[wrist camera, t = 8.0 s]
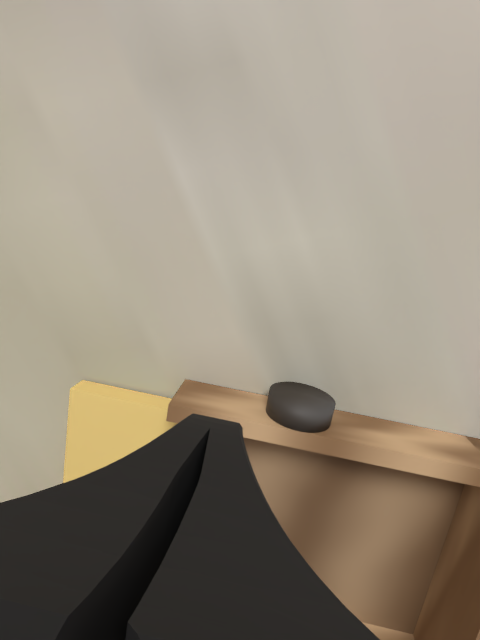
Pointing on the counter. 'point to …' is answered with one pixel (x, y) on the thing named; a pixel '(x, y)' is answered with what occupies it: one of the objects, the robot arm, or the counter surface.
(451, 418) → the counter surface
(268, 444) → the brown wooden drawer
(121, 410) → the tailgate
